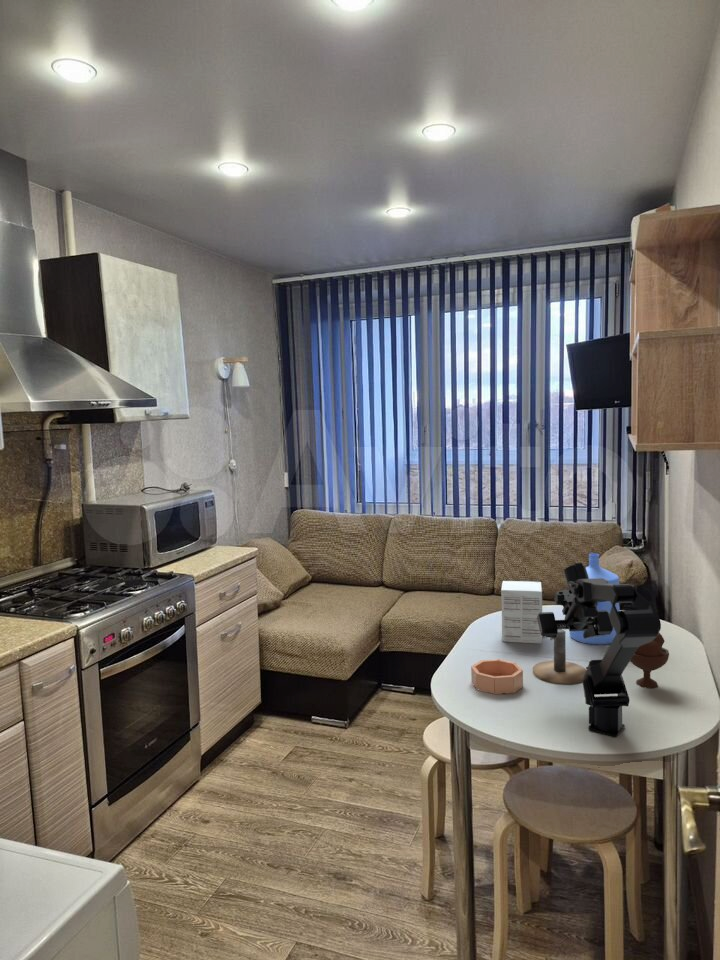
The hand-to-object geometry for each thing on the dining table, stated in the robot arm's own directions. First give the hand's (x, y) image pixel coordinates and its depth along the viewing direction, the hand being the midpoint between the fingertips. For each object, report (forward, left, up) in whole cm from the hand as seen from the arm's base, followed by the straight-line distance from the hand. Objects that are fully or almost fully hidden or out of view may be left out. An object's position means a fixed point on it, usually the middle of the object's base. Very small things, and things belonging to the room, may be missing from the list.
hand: (567, 637), depth 178 cm
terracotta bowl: (+15, +12, -13) cm, 23 cm away
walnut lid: (+4, -5, -13) cm, 15 cm away
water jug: (+7, -41, -13) cm, 44 cm away
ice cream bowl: (-18, -11, -13) cm, 25 cm away
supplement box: (+27, -29, -13) cm, 42 cm away
